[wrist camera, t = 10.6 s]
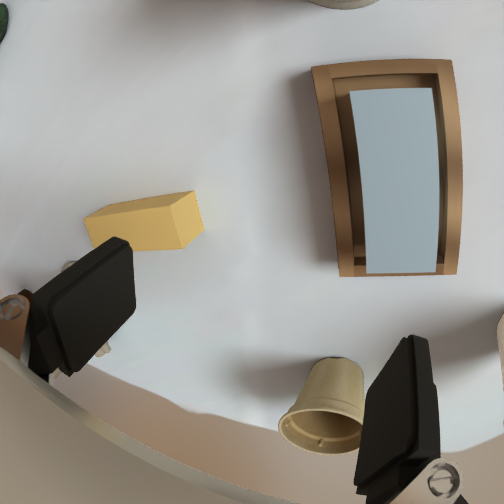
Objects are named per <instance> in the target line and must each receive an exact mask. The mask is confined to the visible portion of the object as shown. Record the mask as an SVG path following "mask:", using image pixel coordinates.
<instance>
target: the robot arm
mask: <svg viewBox="0 0 504 504" xmlns="http://www.w3.org/2000/svg"><path fill="white" fill-rule="evenodd" d="M31 296H32V300H33V302H31V303H29V301H28V299H27V298H26V297H25V296H22V295H16V294H14V295H9V296H7V297H4V298H3V299H1V300H0V504H298V503H294V502H291V501H287V500H283V499H279V498H276V497H272V496H269V495H265V494H262V493H259V492H256V491H252V490H250V489H246V488H244V487H241V486H238V485H235V484H232V483H229V482H226V481H224V480H221V479H219V478H216V477H213V476H211V475H208V474H206V473H204V472H201V471H199V470H196V469H194V468H192V467H189V466H187V465H185V464H183V463H180V462H178V461H176V460H174V459H171V458H170V457H168V456H165V455H163V454H161V453H159V452H157V451H155V450H153V449H151V448H149V447H148V446H146V445H144V444H142V443H140V442H138V441H136V440H134V439H133V438H131V437H129V436H127V435H125V434H124V433H122V432H120V431H118V430H117V429H115V428H113V427H112V426H110V425H109V424H107V423H105V422H104V421H102V420H100V419H99V418H97V417H95V416H94V415H92V414H91V413H89V412H88V411H86V410H85V409H83V408H82V407H80V406H79V405H77V404H76V403H74V402H73V401H71V400H70V399H69V398H67V397H66V396H65V395H63V394H62V393H60V392H59V391H58V390H56V389H55V388H54V380H55V379H56V378H57V377H58V376H59V375H60V374H61V373H62V372H63V373H64V374H66V375H67V376H68V377H70V376H71V375H72V374H73V373H74V372H78V371H79V370H81V369H82V367H83V366H84V365H85V364H86V363H87V362H88V361H89V360H90V359H91V358H92V357H93V356H94V354H95V355H96V357H101V356H103V355H104V354H105V353H109V352H110V351H111V348H110V346H109V344H108V343H107V341H108V340H109V338H110V337H111V336H112V335H113V334H114V333H115V332H116V331H117V330H118V329H119V328H120V327H121V326H122V325H123V324H124V323H125V322H126V321H127V320H128V319H129V317H130V316H131V315H132V314H133V313H134V311H135V309H136V297H135V284H134V268H133V250H132V247H130V244H129V242H128V241H126V240H124V239H121V238H118V237H114V236H113V237H111V238H110V239H108V240H107V241H105V242H104V243H102V244H101V245H99V246H98V247H97V248H95V249H94V250H92V251H91V252H89V253H88V254H86V255H85V256H84V257H82V258H81V259H79V260H78V261H77V262H70V263H69V264H67V265H66V266H65V267H64V268H63V269H62V271H61V273H60V274H59V275H57V276H56V277H55V278H53V279H52V280H51V281H49V282H48V283H47V284H45V285H44V286H43V287H42V288H40V289H39V290H38V291H36V292H35V293H34V294H33V295H31ZM354 485H355V486H357V491H356V494H360V495H366V496H367V498H366V504H468V503H467V501H466V500H465V499H464V498H463V497H462V495H461V494H460V493H461V492H462V490H463V485H464V477H463V473H462V471H461V469H460V467H459V466H458V465H457V464H456V463H455V462H454V461H452V460H450V459H447V458H440V425H439V410H438V397H437V389H436V385H435V384H434V383H433V376H432V367H431V359H430V352H429V345H428V340H427V339H426V338H422V337H419V336H415V335H409V336H408V338H405V337H403V338H402V340H401V341H400V343H399V344H398V346H397V347H396V349H395V351H394V352H393V354H392V355H391V357H390V358H389V360H388V361H387V363H386V364H385V366H384V367H383V369H382V370H381V372H380V373H379V375H378V376H377V378H376V379H375V380H374V382H373V383H372V385H371V386H370V387H369V389H368V391H367V394H366V400H365V409H364V417H363V425H362V433H361V440H360V447H359V454H358V459H357V465H356V471H355V476H354Z"/></svg>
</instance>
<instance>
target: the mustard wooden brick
mask: <svg viewBox="0 0 504 504" xmlns="http://www.w3.org/2000/svg"><path fill="white" fill-rule="evenodd" d="M83 220H84V223H85V225H86V228H87V231H88V234H89V237H90V239H91V242H92V245H93V247H94V249H95V248H97V247H98V246H99V245H101V244H102V243H104V242H105V241H107V240H108V239H110V238H111V237H113V236H114V237H118V238H121V239H124V240H126V241H128V242H129V244H130V247H132V250H133V251H149V250H175V249H183V248H184V247H185V246H186V245H188V244H189V243H190V242H191V241H192V240H193V239H194V238H195V237H197V236H198V235H199V234H200V233H201V232H202V231H203V230H204V226H203V222H202V219H201V215H200V211H199V207H198V203H197V200H196V196H195V192H194V191H188V192H181V193H175V194H168V195H162V196H156V197H150V198H144V199H138V200H132V201H127V202H121V203H116V204H111V205H108V206H106V207H104V208H102V209H100V210H98V211H97V212H95V213H93V214H91V215H90V216H88V217H86V218H84V219H83Z"/></svg>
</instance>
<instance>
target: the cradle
mask: <svg viewBox="0 0 504 504" xmlns="http://www.w3.org/2000/svg"><path fill="white" fill-rule="evenodd" d="M311 71H312V76H313V81H314V86H315V91H316V97H317V102H318V108H319V113H320V119H321V125H322V131H323V138H324V144H325V151H326V158H327V165H328V172H329V179H330V187H331V196H332V204H333V213H334V223H335V233H336V244H337V255H338V268H339V275H340V277H367V276H419V275H454V274H457V266H458V257H459V247H460V236H461V221H462V195H463V168H462V142H461V127H460V116H459V107H458V98H457V91H456V84H455V77H454V71H453V66H452V60H444V59H392V60H372V61H358V62H347V63H338V64H329V65H321V66H314V67H311ZM394 88H432V94H433V102H434V110H435V119H436V130H437V143H438V160H439V231H438V248H437V261H436V272H424V273H368V274H366V242H365V223H364V207H363V194H362V183H361V173H360V163H359V154H358V146H357V138H356V131H355V124H354V117H353V110H352V104H351V98H350V92H349V91H358V90H373V89H394Z"/></svg>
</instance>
